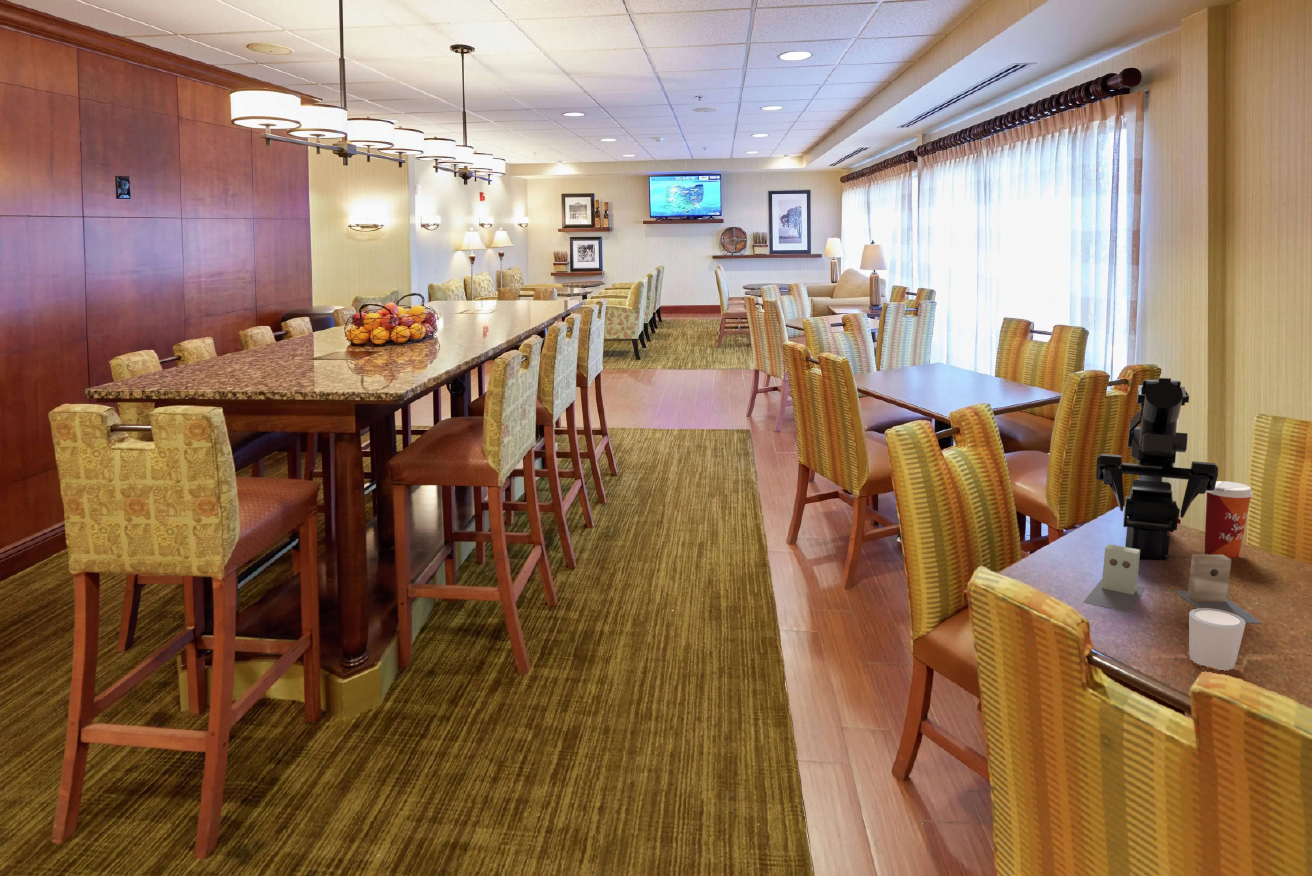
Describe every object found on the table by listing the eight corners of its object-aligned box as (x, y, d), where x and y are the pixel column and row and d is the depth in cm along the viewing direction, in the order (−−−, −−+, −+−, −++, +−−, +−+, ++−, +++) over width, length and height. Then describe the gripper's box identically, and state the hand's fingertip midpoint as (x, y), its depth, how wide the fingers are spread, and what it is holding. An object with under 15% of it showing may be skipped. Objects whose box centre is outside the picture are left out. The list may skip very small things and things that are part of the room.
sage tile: (1104, 584, 151) (1108, 544, 150) (1136, 590, 148) (1140, 549, 146) (1101, 588, 149) (1104, 548, 148) (1133, 594, 146) (1137, 553, 145)
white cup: (1185, 646, 128) (1190, 603, 127) (1240, 657, 125) (1246, 613, 123) (1182, 665, 123) (1187, 620, 121) (1239, 677, 119) (1245, 631, 118)
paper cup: (1230, 564, 160) (1239, 493, 157) (1189, 552, 167) (1197, 484, 164) (1254, 556, 164) (1263, 486, 161) (1212, 545, 170) (1220, 478, 167)
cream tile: (1187, 595, 145) (1192, 554, 143) (1218, 596, 145) (1223, 554, 143) (1195, 601, 143) (1200, 559, 141) (1226, 602, 142) (1231, 559, 141)
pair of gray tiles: (1098, 623, 137) (1099, 619, 137) (1060, 581, 154) (1060, 578, 154) (1263, 627, 134) (1263, 623, 134) (1205, 583, 151) (1205, 580, 151)
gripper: (1101, 411, 154) (1092, 485, 148) (1223, 418, 145) (1220, 498, 139) (1100, 442, 163) (1092, 514, 156) (1215, 451, 154) (1212, 528, 147)
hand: (1151, 513), depth 149 cm, fingers open, 9 cm apart
